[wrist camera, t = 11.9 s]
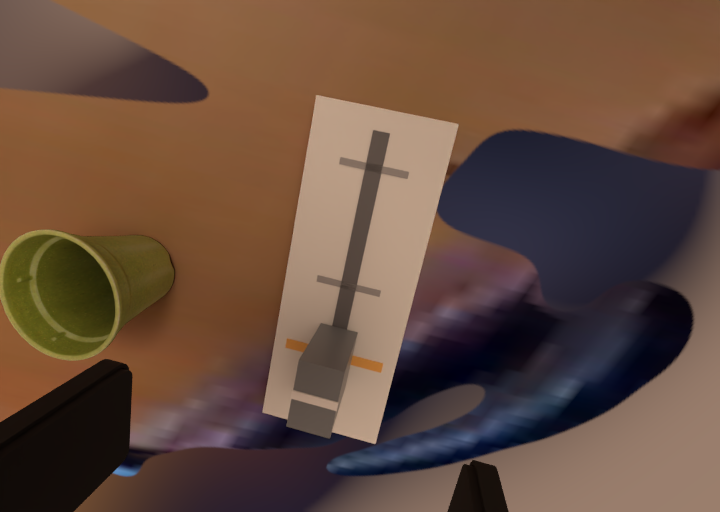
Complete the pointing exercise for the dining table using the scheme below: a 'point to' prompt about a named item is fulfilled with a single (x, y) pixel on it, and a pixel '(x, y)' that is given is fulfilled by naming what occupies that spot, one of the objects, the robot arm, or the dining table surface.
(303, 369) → the fader
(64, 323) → the plant pot
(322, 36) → the dining table surface
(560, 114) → the dining table surface
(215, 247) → the dining table surface
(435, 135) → the console
